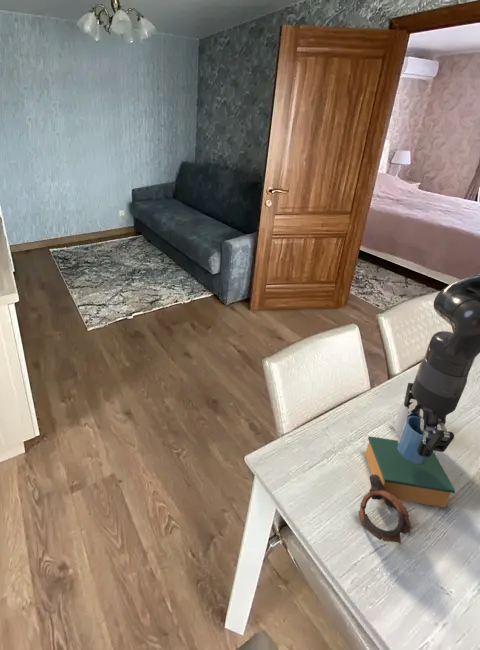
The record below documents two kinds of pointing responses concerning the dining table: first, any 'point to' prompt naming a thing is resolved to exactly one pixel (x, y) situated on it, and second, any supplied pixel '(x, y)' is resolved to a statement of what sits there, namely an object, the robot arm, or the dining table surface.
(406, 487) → the container
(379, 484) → the brown jagged ring
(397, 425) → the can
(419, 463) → the cup
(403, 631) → the dining table surface
